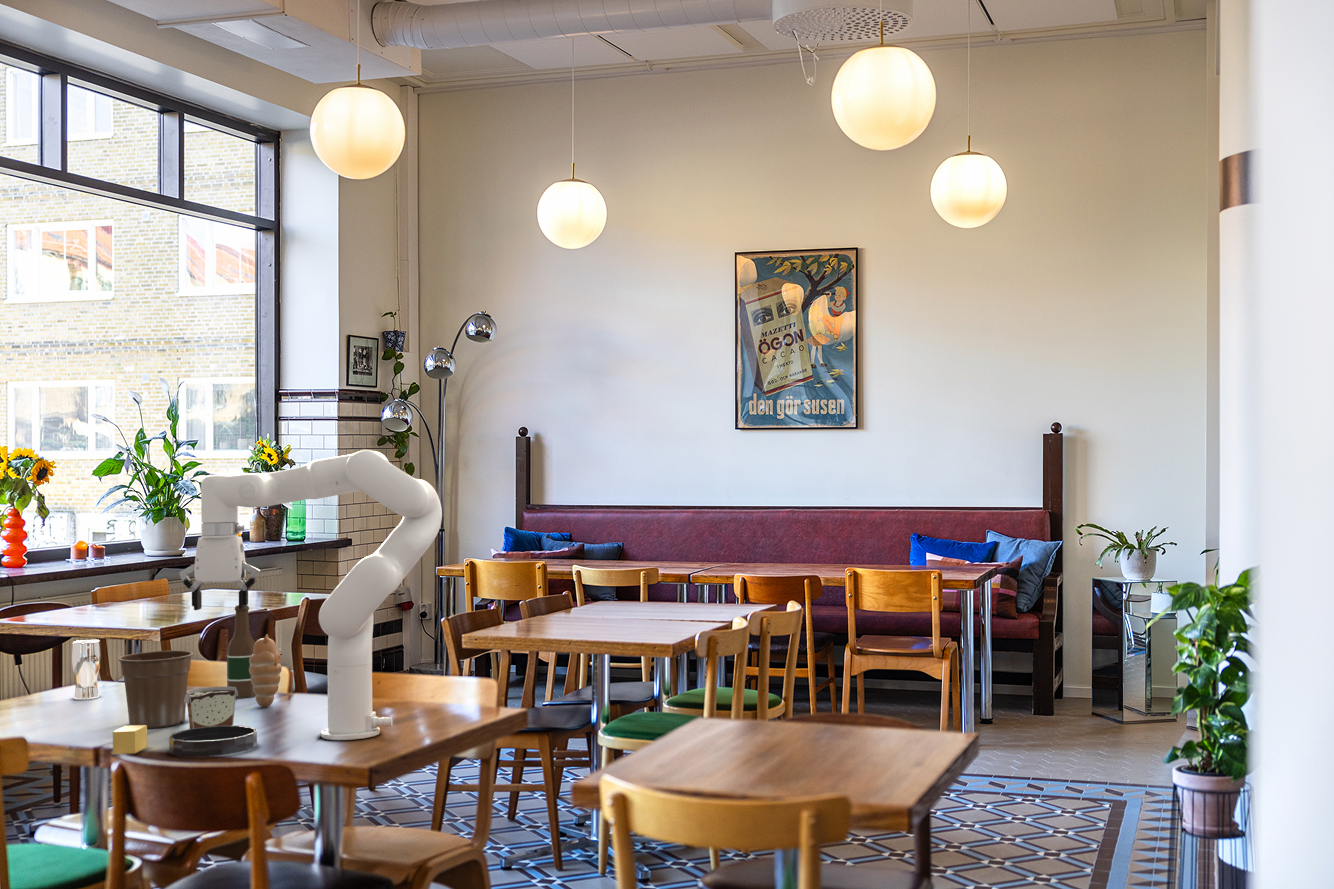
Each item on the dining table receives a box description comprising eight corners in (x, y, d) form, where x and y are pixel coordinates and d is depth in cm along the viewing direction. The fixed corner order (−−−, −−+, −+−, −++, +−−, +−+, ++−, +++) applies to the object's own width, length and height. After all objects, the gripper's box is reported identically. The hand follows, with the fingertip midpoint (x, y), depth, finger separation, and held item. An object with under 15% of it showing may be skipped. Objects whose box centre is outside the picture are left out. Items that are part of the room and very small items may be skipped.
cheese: (147, 748, 269) (147, 724, 269) (135, 755, 262) (134, 731, 262) (125, 749, 268) (125, 725, 269) (112, 756, 261) (112, 731, 262)
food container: (223, 728, 290) (223, 684, 291) (238, 731, 286) (238, 686, 287) (173, 737, 281) (172, 691, 281) (187, 740, 277) (187, 694, 277)
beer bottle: (230, 694, 340) (230, 604, 341) (260, 693, 341) (260, 603, 342) (223, 699, 333) (223, 607, 334) (254, 698, 334) (253, 606, 334)
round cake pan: (266, 740, 275) (265, 724, 275) (243, 757, 258) (243, 740, 258) (185, 743, 274) (184, 726, 274) (157, 759, 257) (157, 742, 257)
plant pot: (138, 733, 286) (137, 661, 287) (106, 725, 297) (106, 656, 298) (206, 722, 298) (205, 653, 299) (173, 715, 309) (173, 648, 310)
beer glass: (82, 695, 343) (81, 639, 343) (106, 695, 342) (105, 639, 342) (66, 700, 336) (66, 643, 336) (90, 700, 335) (90, 643, 335)
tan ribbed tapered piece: (281, 709, 315) (280, 636, 316) (247, 711, 313) (247, 637, 314) (282, 703, 324) (282, 632, 325) (250, 705, 322) (250, 633, 323)
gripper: (264, 529, 284) (264, 606, 283) (185, 531, 283) (185, 608, 282) (254, 530, 276) (255, 609, 275) (173, 532, 275) (174, 611, 275)
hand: (220, 609), depth 279 cm, fingers open, 9 cm apart
